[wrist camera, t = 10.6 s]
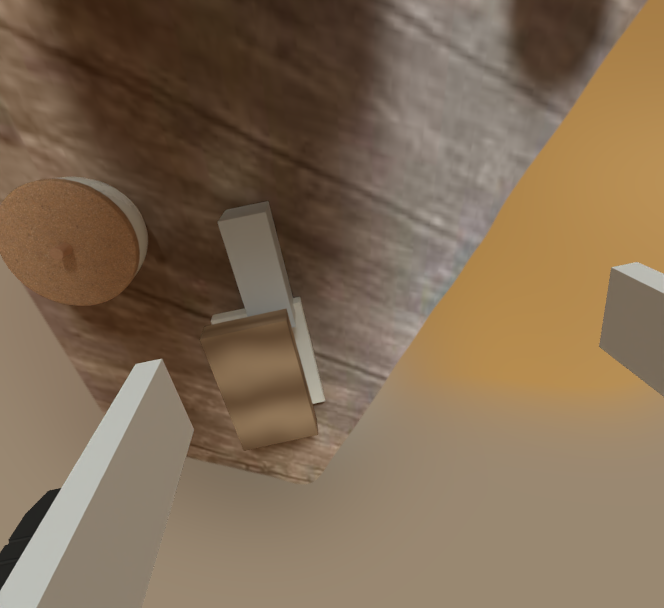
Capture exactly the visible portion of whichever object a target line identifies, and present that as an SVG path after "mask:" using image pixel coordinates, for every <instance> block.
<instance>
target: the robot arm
mask: <svg viewBox="0 0 664 608" xmlns="http://www.w3.org/2000/svg"><path fill="white" fill-rule="evenodd" d="M599 347H600V348H601V349H603V350H604V351H605V352H607V353H608V354H609V355H611V356H612V357H613V358H614V359H616V360H617V361H618V362H619V363H621V364H622V365H623V366H625V367H626V368H627V369H629V370H630V371H631V372H632V373H634V374H635V375H636V376H638V377H639V378H640V379H642V380H643V381H644V382H645V383H647V384H648V385H649V386H651V387H652V388H653V389H654V390H656V391H657V392H659V393H660V394H661V395H662V396H664V274H663V273H661V272H658V271H656V270H654V269H652V268H649V267H647V266H645V265H643V264H640V263H638V262H635V263H630V264H626V265H621V266H616V267H612V268H611V273H610V279H609V286H608V293H607V300H606V306H605V312H604V319H603V325H602V332H601V338H600V345H599ZM193 432H194V428H193V426H192V424H191V422H190V420H189V417H188V415H187V413H186V411H185V408H184V406H183V404H182V402H181V400H180V397H179V395H178V393H177V391H176V388H175V386H174V384H173V382H172V379H171V377H170V375H169V373H168V371H167V368H166V366H165V364H164V362H163V359H158V360H153V361H148V362H143V363H138V364H135V366H134V368H133V369H132V371H131V373H130V374H129V376H128V378H127V379H126V381H125V383H124V384H123V386H122V388H121V389H120V391H119V393H118V394H117V396H116V398H115V399H114V401H113V403H112V404H111V406H110V408H109V409H108V411H107V413H106V414H105V416H104V418H103V420H102V421H101V423H100V425H99V426H98V428H97V430H96V431H95V433H94V435H93V437H92V438H91V440H90V441H89V443H88V445H87V446H86V448H85V450H84V451H83V453H82V455H81V457H80V458H79V460H78V461H77V463H76V465H75V466H74V468H73V470H72V471H71V473H70V475H69V477H68V478H67V480H66V482H65V483H64V485H63V487H62V488H59V489H55V490H50V491H48V492H47V493H46V494H45V495H44V496H43V497H42V498H41V499H40V500H39V501H38V502H37V503H36V504H35V505H34V506H33V507H32V508H31V509H30V510H29V511H28V512H27V513H26V514H25V516H24V517H23V518H22V520H21V522H20V523H19V525H18V526H17V528H16V529H15V531H14V532H13V534H12V535H11V537H10V539H9V544H8V545H5V546H4V548H3V549H2V551H1V553H0V608H142V605H143V601H144V598H145V594H146V591H147V588H148V584H149V581H150V578H151V574H152V571H153V567H154V564H155V560H156V557H157V554H158V550H159V547H160V543H161V540H162V537H163V533H164V530H165V526H166V523H167V520H168V516H169V513H170V510H171V506H172V503H173V499H174V496H175V492H176V489H177V486H178V482H179V479H180V476H181V472H182V469H183V465H184V462H185V459H186V455H187V452H188V449H189V445H190V442H191V438H192V435H193Z"/></svg>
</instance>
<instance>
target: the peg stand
mask: <svg viewBox="0 0 664 608" xmlns="http://www.w3.org/2000/svg"><path fill="white" fill-rule="evenodd" d="M293 305H294V309H295V318H296V327H293V328H292V331H293V334H294V338H295V341H296V345H297V349H298V352H299V356H300V360H301V363H302V367H303V371H304V374H305V378H306V381H307V385H308V389H309V392H310V396H311V400H312V403H313V404H314V403H319V402H324V401H325V397H324V391H323V387H322V383H321V379H320V375H319V371H318V367H317V363H316V359H315V355H314V351H313V347H312V343H311V339H310V335H309V331H308V327H307V322H306V318H305V314H304V310H303V306H302V302H301V298H300V297H295V298H293ZM245 317H247V313H246V310H245V308H243V309H239V310H234V311H229V312H225V313H220V314H215V315H213V316H212V319H211V323H212V325H213V324H217V323H222V322H226V321H231V320H236V319H240V318H245Z"/></svg>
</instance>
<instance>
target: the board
mask: <svg viewBox="0 0 664 608" xmlns="http://www.w3.org/2000/svg"><path fill="white" fill-rule="evenodd" d="M199 340H200V342H201V345H202V347H203V350H204V352H205V355H206V357H207V360H208V362H209V365H210V367H211V370H212V372H213V375H214V377H215V380H216V382H217V385H218V387H219V390H220V392H221V395H222V397H223V400H224V402H225V405H226V407H227V410H228V412H229V415H230V417H231V420H232V422H233V425H234V427H235V430H236V432H237V435H238V437H239V440H240V442H241V445H242V447H243V450H244V451H246V450H250V449H255V448H260V447H264V446H269V445H273V444H278V443H283V442H287V441H292V440H296V439H301V438H305V437H310V436H315V435H318V428H317V418H316V414H315V411H314V407H313V403H312V400H311V396H310V392H309V389H308V385H307V381H306V378H305V374H304V371H303V367H302V363H301V360H300V356H299V352H298V349H297V345H296V341H295V338H294V334H293V331H292V327H291V323H290V320H289V316H288V312H287V309H282V310H277V311H272V312H268V313H263V314H259V315H254V316H249V317H245V318H240V319H236V320H231V321H226V322H222V323H217V324H213V325H208V326H205V327H204V329H203V332H202V334H201V337H200V339H199Z"/></svg>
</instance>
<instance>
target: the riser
mask: <svg viewBox="0 0 664 608" xmlns="http://www.w3.org/2000/svg"><path fill="white" fill-rule="evenodd" d="M217 223H218V226H219V229H220V232H221V235H222V238H223V241H224V245H225V248H226V251H227V254H228V257H229V260H230V263H231V266H232V270H233V273H234V276H235V279H236V282H237V285H238V288H239V292H240V295H241V298H242V301H243V304H244V307H245V310H246V313H247V317H249V316H254V315H259V314H263V313H268V312H272V311H277V310H282V309H287V312H288V316H289V320H290V323H291V327H292V328H293V327H296V318H295V309H294V305H293V295H292V292H291V288H290V284H289V280H288V276H287V272H286V268H285V264H284V260H283V256H282V252H281V249H280V245H279V241H278V237H277V233H276V229H275V225H274V221H273V217H272V213H271V209H270V205H269V202H268V201H266V202H261V203H256V204H251V205H247V206H242V207H237V208H232V209H228V210H225V211H224V213H223V214H222V216H221V217H220V219H219V220H218V222H217Z"/></svg>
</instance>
